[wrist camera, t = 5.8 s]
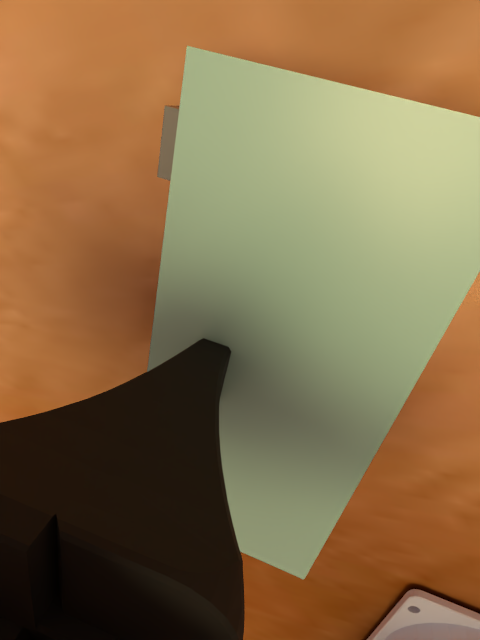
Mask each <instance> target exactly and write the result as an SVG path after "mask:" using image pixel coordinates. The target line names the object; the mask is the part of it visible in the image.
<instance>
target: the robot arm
mask: <svg viewBox="0 0 480 640" xmlns="http://www.w3.org/2000/svg"><path fill="white" fill-rule="evenodd" d="M230 356H231V350H230V348H229V347H228V346H225V345H222V344H219V343H216V342H213V341H210V340H207V339H205V338H203V339H201V340H199V341H197V342H196V343H194V344H193V345H191V346H190V347H188V348H186V349H185V350H183V351H182V352H180V353H179V354H177V355H175V356H174V357H172V358H170V359H169V360H167V361H165V362H164V363H162V364H160V365H158V366H157V367H155V368H153V369H151V370H150V371H148V372H146V373H144V374H142V375H140V376H138V377H136V378H134V379H132V380H130V381H128V382H126V383H124V384H122V385H119V386H117V387H115V388H113V389H111V390H108V391H106V392H103V393H101V394H98V395H96V396H93V397H91V398H88V399H85V400H82V401H79V402H76V403H73V404H70V405H66V406H63V407H60V408H57V409H54V410H51V411H47V412H44V413H40V414H36V415H32V416H28V417H24V418H20V419H15V420H11V421H6V422H2V423H0V640H243V633H244V583H243V561H242V556H241V553H240V549H239V546H238V542H237V539H236V535H235V531H234V527H233V523H232V518H231V514H230V509H229V504H228V500H227V494H226V488H225V481H224V475H223V469H222V460H221V451H220V436H219V403H220V396H221V392H222V388H223V384H224V380H225V376H226V372H227V368H228V364H229V360H230ZM367 640H480V614H479V613H476V612H474V611H471V610H469V609H467V608H464V607H462V606H459V605H457V604H454V603H452V602H449V601H447V600H444V599H442V598H439V597H437V596H435V595H432V594H430V593H427V592H425V591H422V590H419V589H412V590H409V591H408V592H407V593H406V594H405V595H404V596H403V597H402V599H401V600H400V601H399V602H398V603H397V604H396V606H395V607H394V608H393V609H392V610H391V612H390V613H389V614H388V615H387V616H386V617H385V619H384V620H383V621H382V622H381V623H380V624H379V626H378V627H377V628H376V629H375V630H374V632H373V633H372V634H371V635H370V636H369V637H368V639H367Z"/></svg>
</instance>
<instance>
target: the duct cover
mask: <svg viewBox="0 0 480 640" xmlns="http://www.w3.org/2000/svg"><path fill="white" fill-rule="evenodd" d="M479 271H480V117H477V116H473V115H469V114H465V113H461V112H457V111H452V110H448V109H444V108H440V107H436V106H432V105H428V104H424V103H420V102H416V101H411V100H407V99H403V98H399V97H395V96H391V95H387V94H383V93H379V92H375V91H370V90H366V89H362V88H358V87H354V86H350V85H346V84H342V83H338V82H334V81H329V80H325V79H321V78H317V77H313V76H309V75H305V74H301V73H297V72H293V71H288V70H284V69H280V68H276V67H272V66H268V65H264V64H260V63H256V62H251V61H247V60H243V59H239V58H235V57H231V56H227V55H223V54H219V53H215V52H210V51H206V50H202V49H198V48H194V47H190V46H187V50H186V58H185V67H184V75H183V83H182V91H181V99H180V107H179V116H178V124H177V132H176V140H175V148H174V157H173V165H172V173H171V181H170V189H169V197H168V206H167V214H166V222H165V230H164V238H163V247H162V255H161V263H160V271H159V279H158V287H157V296H156V304H155V312H154V320H153V328H152V337H151V345H150V353H149V361H148V369H147V372H148V371H150V370H151V369H153V368H155V367H157V366H158V365H160V364H162V363H164V362H165V361H167V360H169V359H170V358H172V357H174V356H175V355H177V354H179V353H180V352H182V351H183V350H185V349H186V348H188V347H190V346H191V345H193V344H194V343H196V342H197V341H199V340H201V339H203V338H205V339H207V340H210V341H213V342H216V343H219V344H222V345H225V346H228V347H229V348H230V350H231V356H230V360H229V364H228V368H227V372H226V376H225V380H224V384H223V388H222V392H221V396H220V403H219V436H220V451H221V460H222V469H223V475H224V481H225V488H226V494H227V500H228V504H229V509H230V514H231V518H232V523H233V527H234V531H235V535H236V539H237V542H238V546H239V549H240V552H243V553H245V554H247V555H249V556H252V557H254V558H256V559H258V560H261V561H263V562H265V563H267V564H270V565H272V566H274V567H277V568H279V569H281V570H283V571H286V572H288V573H290V574H292V575H295V576H297V577H299V578H301V579H305V577H306V575H307V574H308V572H309V570H310V568H311V567H312V565H313V563H314V561H315V559H316V558H317V556H318V554H319V552H320V551H321V549H322V547H323V545H324V544H325V542H326V540H327V538H328V537H329V535H330V533H331V531H332V530H333V528H334V526H335V524H336V523H337V521H338V519H339V517H340V516H341V514H342V512H343V510H344V509H345V507H346V505H347V503H348V502H349V500H350V498H351V496H352V494H353V493H354V491H355V489H356V487H357V486H358V484H359V482H360V480H361V479H362V477H363V475H364V473H365V472H366V470H367V468H368V466H369V465H370V463H371V461H372V459H373V458H374V456H375V454H376V452H377V451H378V449H379V447H380V445H381V444H382V442H383V440H384V438H385V437H386V435H387V433H388V431H389V429H390V428H391V426H392V424H393V422H394V421H395V419H396V417H397V415H398V414H399V412H400V410H401V408H402V407H403V405H404V403H405V401H406V400H407V398H408V396H409V394H410V393H411V391H412V389H413V387H414V386H415V384H416V382H417V380H418V379H419V377H420V375H421V373H422V372H423V370H424V368H425V366H426V364H427V363H428V361H429V359H430V357H431V356H432V354H433V352H434V350H435V349H436V347H437V345H438V343H439V342H440V340H441V338H442V336H443V335H444V333H445V331H446V329H447V328H448V326H449V324H450V322H451V321H452V319H453V317H454V315H455V314H456V312H457V310H458V308H459V307H460V305H461V303H462V301H463V299H464V298H465V296H466V294H467V292H468V291H469V289H470V287H471V285H472V284H473V282H474V280H475V278H476V277H477V275H478V273H479Z"/></svg>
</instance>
